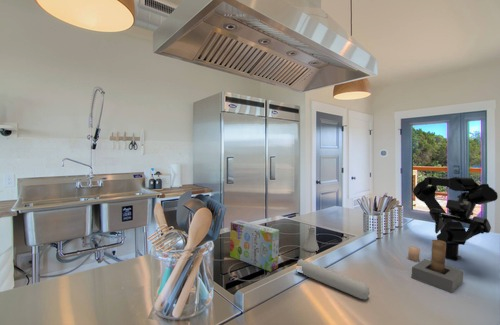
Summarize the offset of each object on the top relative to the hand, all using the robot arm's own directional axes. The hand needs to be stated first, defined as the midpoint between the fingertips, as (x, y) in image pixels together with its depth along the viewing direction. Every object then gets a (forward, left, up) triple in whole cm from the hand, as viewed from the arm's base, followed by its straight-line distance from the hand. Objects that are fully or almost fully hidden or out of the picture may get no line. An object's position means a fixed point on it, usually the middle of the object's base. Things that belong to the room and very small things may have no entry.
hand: (449, 236), depth 99 cm
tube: (+46, -20, -14) cm, 52 cm away
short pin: (0, -12, -14) cm, 18 cm away
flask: (+28, -44, -14) cm, 54 cm away
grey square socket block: (+12, 0, -14) cm, 18 cm away
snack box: (+58, -49, -14) cm, 77 cm away
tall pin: (+12, 0, -14) cm, 18 cm away
